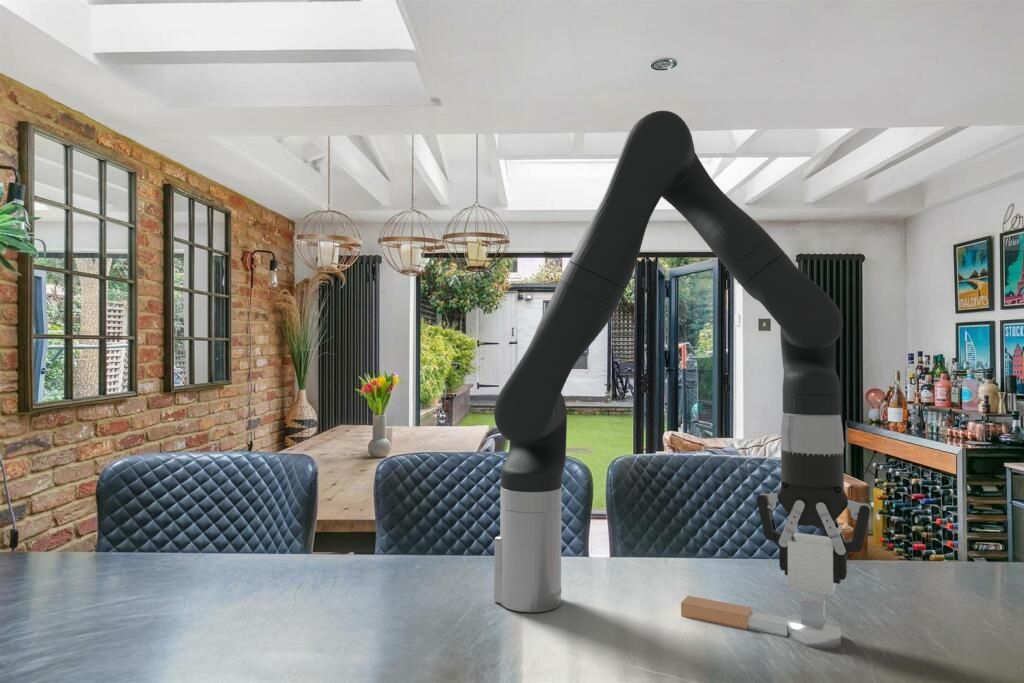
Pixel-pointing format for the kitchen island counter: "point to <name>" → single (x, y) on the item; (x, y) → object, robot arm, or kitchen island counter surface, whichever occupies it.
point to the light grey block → (811, 563)
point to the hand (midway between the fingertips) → (812, 577)
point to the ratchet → (771, 620)
